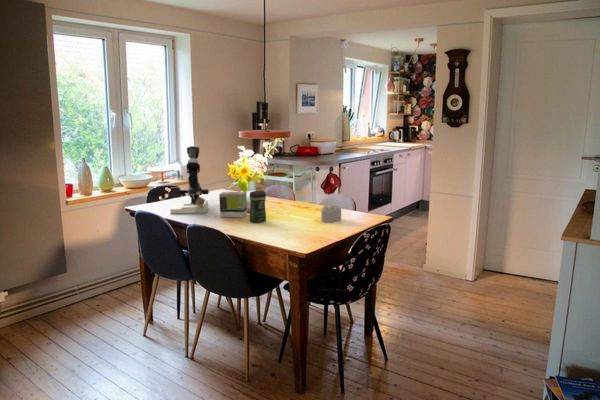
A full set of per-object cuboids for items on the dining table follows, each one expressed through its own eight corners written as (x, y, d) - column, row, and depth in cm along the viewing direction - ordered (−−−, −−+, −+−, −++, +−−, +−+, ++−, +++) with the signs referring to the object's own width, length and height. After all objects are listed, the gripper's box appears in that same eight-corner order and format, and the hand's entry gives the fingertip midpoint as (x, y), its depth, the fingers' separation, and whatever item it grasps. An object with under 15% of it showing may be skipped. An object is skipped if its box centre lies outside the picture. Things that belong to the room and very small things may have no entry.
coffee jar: (255, 224, 274) (255, 192, 271) (247, 221, 280) (246, 190, 276) (268, 221, 281) (268, 190, 277) (260, 218, 287) (259, 188, 283)
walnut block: (196, 202, 309) (199, 196, 308) (202, 205, 310) (205, 199, 309) (194, 203, 305) (197, 197, 304) (201, 207, 305) (204, 201, 304)
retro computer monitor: (247, 214, 299) (246, 191, 296) (243, 218, 289) (243, 194, 286) (223, 213, 300) (223, 191, 297) (219, 217, 290) (219, 193, 288)
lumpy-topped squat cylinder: (343, 219, 285) (343, 205, 284) (332, 224, 275) (332, 209, 273) (328, 217, 291) (328, 203, 289) (317, 221, 281) (317, 207, 279)
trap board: (174, 208, 315) (174, 201, 314) (207, 207, 317) (207, 200, 316) (170, 214, 299) (170, 206, 298) (205, 213, 301) (205, 205, 300)
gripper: (176, 183, 295) (177, 207, 298) (206, 182, 297) (207, 207, 300) (179, 180, 306) (180, 203, 309) (208, 180, 308) (209, 203, 311)
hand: (194, 204), depth 307 cm, fingers closed
